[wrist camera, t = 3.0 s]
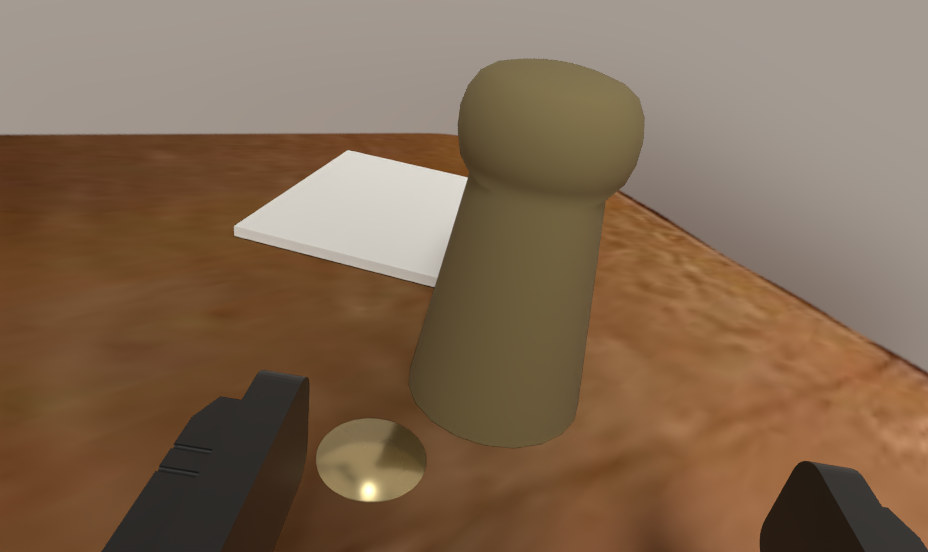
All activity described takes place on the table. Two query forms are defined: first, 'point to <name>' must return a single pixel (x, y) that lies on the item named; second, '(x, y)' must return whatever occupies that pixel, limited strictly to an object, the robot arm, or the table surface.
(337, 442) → the brass coin
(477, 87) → the cork
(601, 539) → the table surface
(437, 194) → the white mat
